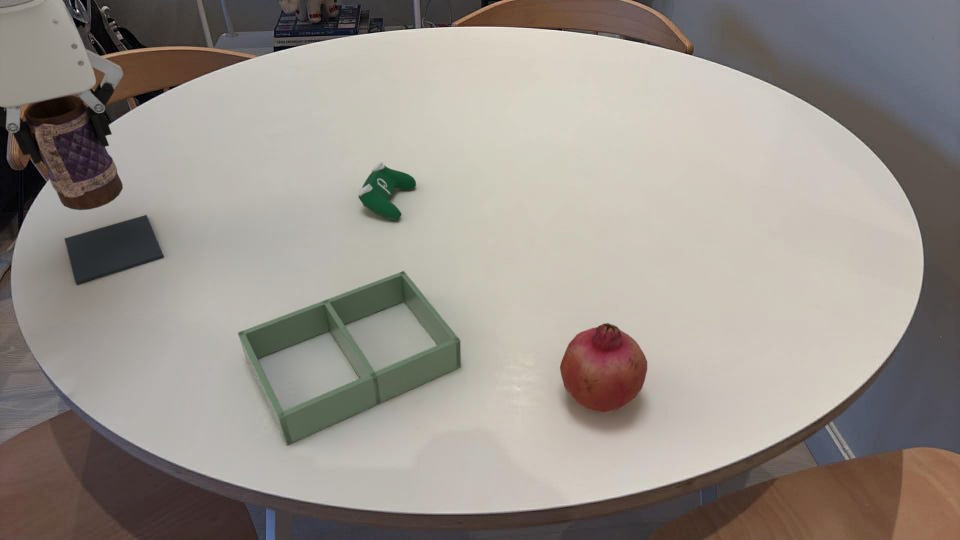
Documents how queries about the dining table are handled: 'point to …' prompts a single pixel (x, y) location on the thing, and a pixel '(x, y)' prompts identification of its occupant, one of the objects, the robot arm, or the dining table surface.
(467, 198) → the dining table surface
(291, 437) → the divided box
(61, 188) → the mug
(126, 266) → the mat
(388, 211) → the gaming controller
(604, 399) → the fruit
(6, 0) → the robot arm
